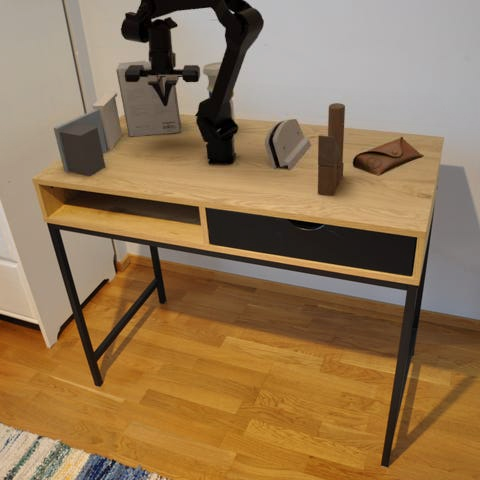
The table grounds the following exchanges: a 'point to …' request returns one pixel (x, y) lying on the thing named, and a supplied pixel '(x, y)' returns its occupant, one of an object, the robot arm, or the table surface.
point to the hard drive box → (147, 105)
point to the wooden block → (331, 151)
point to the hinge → (286, 144)
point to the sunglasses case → (386, 157)
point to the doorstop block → (83, 149)
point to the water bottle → (212, 73)
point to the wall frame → (109, 118)
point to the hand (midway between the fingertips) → (165, 105)
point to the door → (87, 119)
